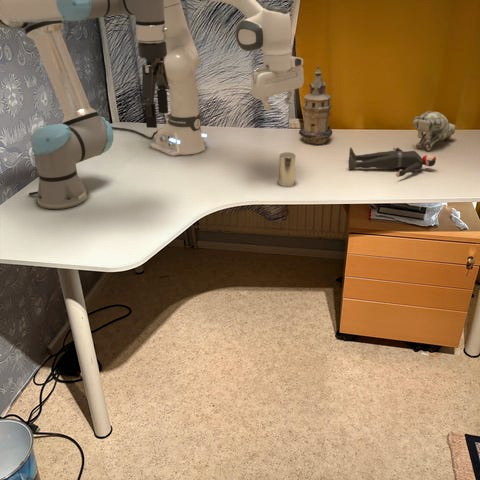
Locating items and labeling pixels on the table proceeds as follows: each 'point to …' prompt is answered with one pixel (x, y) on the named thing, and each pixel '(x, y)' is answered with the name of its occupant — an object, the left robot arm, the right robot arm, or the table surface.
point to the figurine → (432, 128)
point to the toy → (391, 160)
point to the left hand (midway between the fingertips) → (157, 119)
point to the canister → (286, 169)
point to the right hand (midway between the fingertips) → (278, 106)
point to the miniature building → (316, 112)
